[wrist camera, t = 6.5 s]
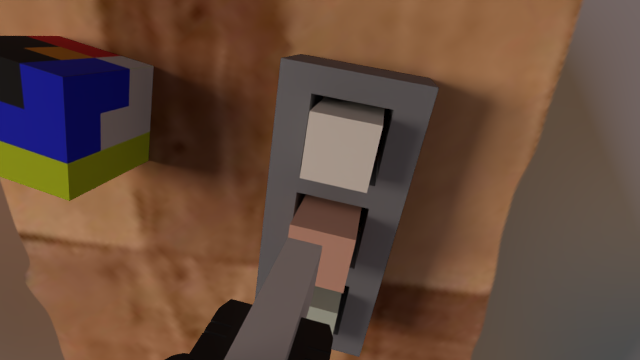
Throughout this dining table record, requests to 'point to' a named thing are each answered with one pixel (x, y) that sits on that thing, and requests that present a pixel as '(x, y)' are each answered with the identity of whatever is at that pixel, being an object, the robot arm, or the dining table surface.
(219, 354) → the robot arm
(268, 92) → the dining table surface
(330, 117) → the key ivory
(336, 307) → the key sage
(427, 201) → the dining table surface
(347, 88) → the console
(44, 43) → the puzzle toy
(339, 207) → the key terracotta
